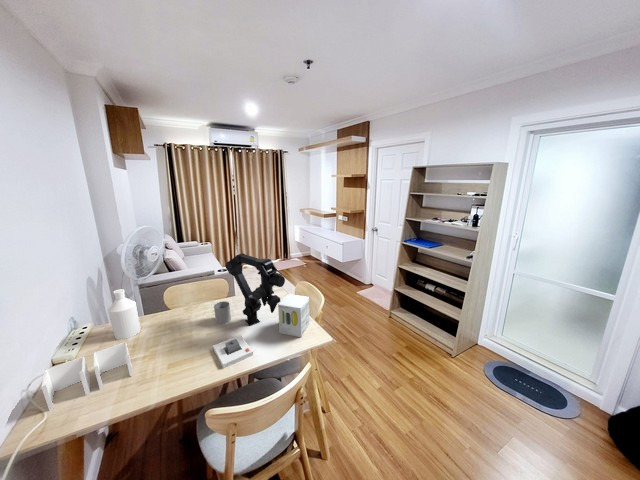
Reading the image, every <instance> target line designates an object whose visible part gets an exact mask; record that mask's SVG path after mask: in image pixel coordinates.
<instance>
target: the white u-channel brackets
mask: <svg viewBox="0 0 640 480" xmlns="http://www.w3.org/2000/svg"><path fill="white" fill-rule="evenodd" d="M129 353H130V351H129V349H128V345H127V341H124V342H121V343H118V344H115V345H112V346H109V347H106V348H104V349H100V350H98V351H94V352H93V370H94V373H95V377H96V380H97V383H98V384H97V385H98V388H99V389H100V388H103V387H104V384H103V381H102V377H101V376H100V373H102V372H105V371H107V370H110V369H112V370H114V369H113V368H115V369H117V368H119V366H120V367H122V365H123V366H125V365H127V369H128V373H129V377H130V376H132V377H134V371H133V366H132V362H131V357H130V354H129ZM124 364H125V365H124ZM116 367H117V368H116ZM110 371H111V370H110ZM107 372H108V371H107ZM105 373H106V372H105ZM102 374H103V373H102ZM80 381H81V382H80ZM77 382H79V383H82V387H83V390H84V394H85V395H86V394H88V393H90V394H91V376H90V372H89V370H88V366H87V362H86V359H85V356H80V357H77V358H75V359H71V360H69V361H64V362H62V363H59V364H57V365H54V366H50V367H48V368H45V370H44V374H43V377H42V382H41V391H42V393H43V396H44V399H45V402H46V405H47V407H48V410H50V409H53V408H54V409H55V407H54V403H52V401H53V402H54V397H53V395H55V392H54V391H56V392H58V391H60V390H59V389H61V388H63V389H65V388H64V387H66V388H68V387H67V386H69V385H71V386H73V385H72V384H74V383H76V384H78V383H77ZM74 385H75V384H74ZM69 387H70V386H69ZM103 389H104V388H103ZM57 390H58V391H57ZM61 390H62V389H61ZM54 409H53V410H54Z"/></svg>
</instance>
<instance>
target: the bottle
mask: <svg viewBox="0 0 640 480" xmlns="http://www.w3.org/2000/svg"><path fill="white" fill-rule="evenodd" d="M125 292H126V291H125V289H124V288H120V289H115V290H113V293H112V294H113V295H114V298H115V300H114V301H113V302H112V304H111V305H109V307H108V309H107V312H108V315H109V320H110V325H111V328H112V331H113V335H114V338H115V339H116V338H117V339H116V340H119V339H122V340H127V339H130V338H133V337H134V335H135V336H136V334H137V333H138V334H140V332H141V331H140V330H142V328H141V322H140V318H139V317H140V316H139V313H138V307H137V302H136V301H135V300H132V299H130V298H127V297H125V296H126V295H125ZM138 334H137V335H138ZM132 336H133V337H132ZM129 337H130V338H129ZM126 338H127V339H126Z"/></svg>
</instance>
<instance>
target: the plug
mask: <svg viewBox="0 0 640 480" xmlns="http://www.w3.org/2000/svg"><path fill="white" fill-rule="evenodd" d="M225 345H226V352H227V353H228V355H229V354H232V353H234V352H236V351H239V350H240V347H239V343H238V341H237V340H236V339H234V340H232V341H229V342H227V343H225Z"/></svg>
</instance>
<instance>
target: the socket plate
mask: <svg viewBox="0 0 640 480" xmlns="http://www.w3.org/2000/svg"><path fill="white" fill-rule="evenodd" d="M234 339H236V340H237V341H238V343H239V347H240V350H239V351H236V352H234V353H232V354H229V355H228V353H227V352H226V345H225V343H227V342H229V341H232V340H234ZM212 350H213V352H214V353H215V355H216V357H217V359H218V361H219V363H220V364H221V366H222V369H226V368H228V367H229V366H232V365H234V364H236V363H238V362H241V361H242V360H243V361H244V360H245V359H249V358H250V357H252V356H254V351H253V349H252V347H250V345H249V344H248V343H247V341H246V340H245V339H244V337H243V336H242V335H241V334H239V335H237V336H234V337H232V338H229V339H227V340H224V341H221V342H219V343H217V344H214V345H212Z"/></svg>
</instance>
